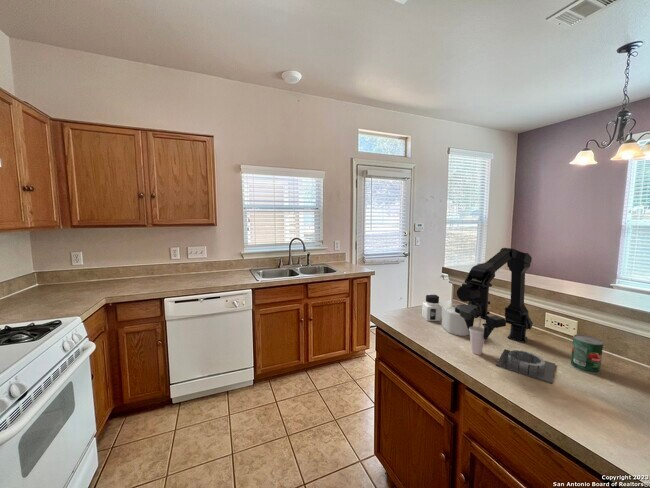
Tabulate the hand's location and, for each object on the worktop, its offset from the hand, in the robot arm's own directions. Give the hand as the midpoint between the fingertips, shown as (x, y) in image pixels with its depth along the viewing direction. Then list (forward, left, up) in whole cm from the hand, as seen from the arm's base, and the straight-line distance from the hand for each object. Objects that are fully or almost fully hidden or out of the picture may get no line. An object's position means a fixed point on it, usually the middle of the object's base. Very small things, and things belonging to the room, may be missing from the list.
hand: (477, 335), depth 109 cm
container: (-24, -28, -7) cm, 38 cm away
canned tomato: (-15, +32, -7) cm, 36 cm away
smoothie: (0, 0, -7) cm, 7 cm away
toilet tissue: (-16, -13, -7) cm, 22 cm away
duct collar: (-2, +16, -7) cm, 18 cm away
